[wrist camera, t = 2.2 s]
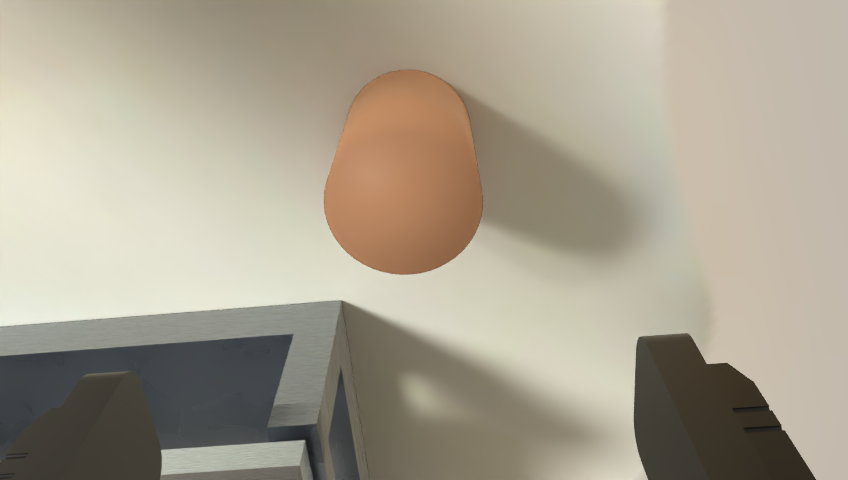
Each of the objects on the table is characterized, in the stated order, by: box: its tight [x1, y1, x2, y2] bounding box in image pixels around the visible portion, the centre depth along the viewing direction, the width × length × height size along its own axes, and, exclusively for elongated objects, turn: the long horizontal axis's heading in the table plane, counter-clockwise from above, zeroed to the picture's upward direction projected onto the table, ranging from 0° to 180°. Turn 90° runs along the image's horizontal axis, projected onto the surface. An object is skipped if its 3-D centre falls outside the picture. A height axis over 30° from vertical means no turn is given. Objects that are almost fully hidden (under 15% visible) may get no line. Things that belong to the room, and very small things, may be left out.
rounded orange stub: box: [324, 70, 483, 275], centre depth 22 cm, size 4×4×6 cm
